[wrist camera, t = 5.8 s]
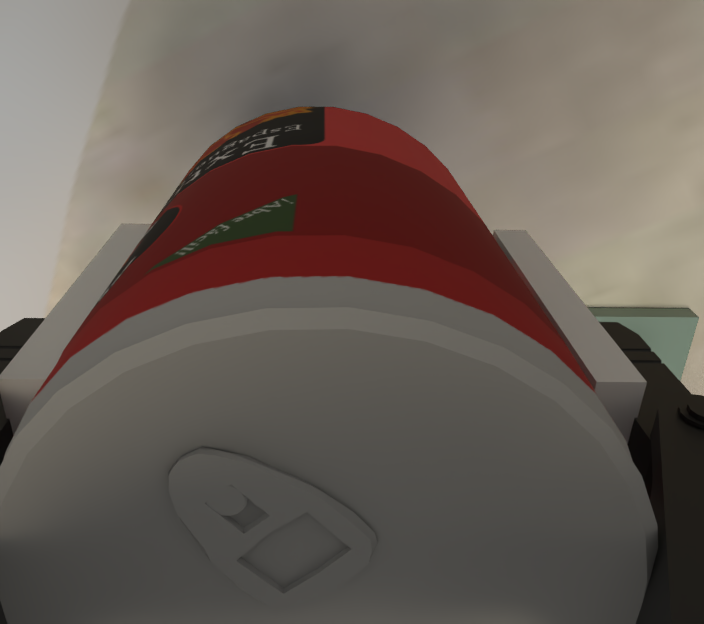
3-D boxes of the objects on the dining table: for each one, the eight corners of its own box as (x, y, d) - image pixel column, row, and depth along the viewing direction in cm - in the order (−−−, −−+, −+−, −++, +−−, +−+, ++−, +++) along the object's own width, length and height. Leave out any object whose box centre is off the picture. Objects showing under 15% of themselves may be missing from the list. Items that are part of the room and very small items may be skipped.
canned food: (269, 29, 15) (172, 132, 5) (536, 217, 17) (820, 536, 7) (119, 289, 18) (-133, 681, 8) (367, 422, 20) (411, 856, 10)
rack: (688, 308, 34) (772, 383, 28) (629, 517, 40) (686, 616, 34) (190, 304, 33) (160, 382, 26) (209, 520, 39) (188, 625, 33)
